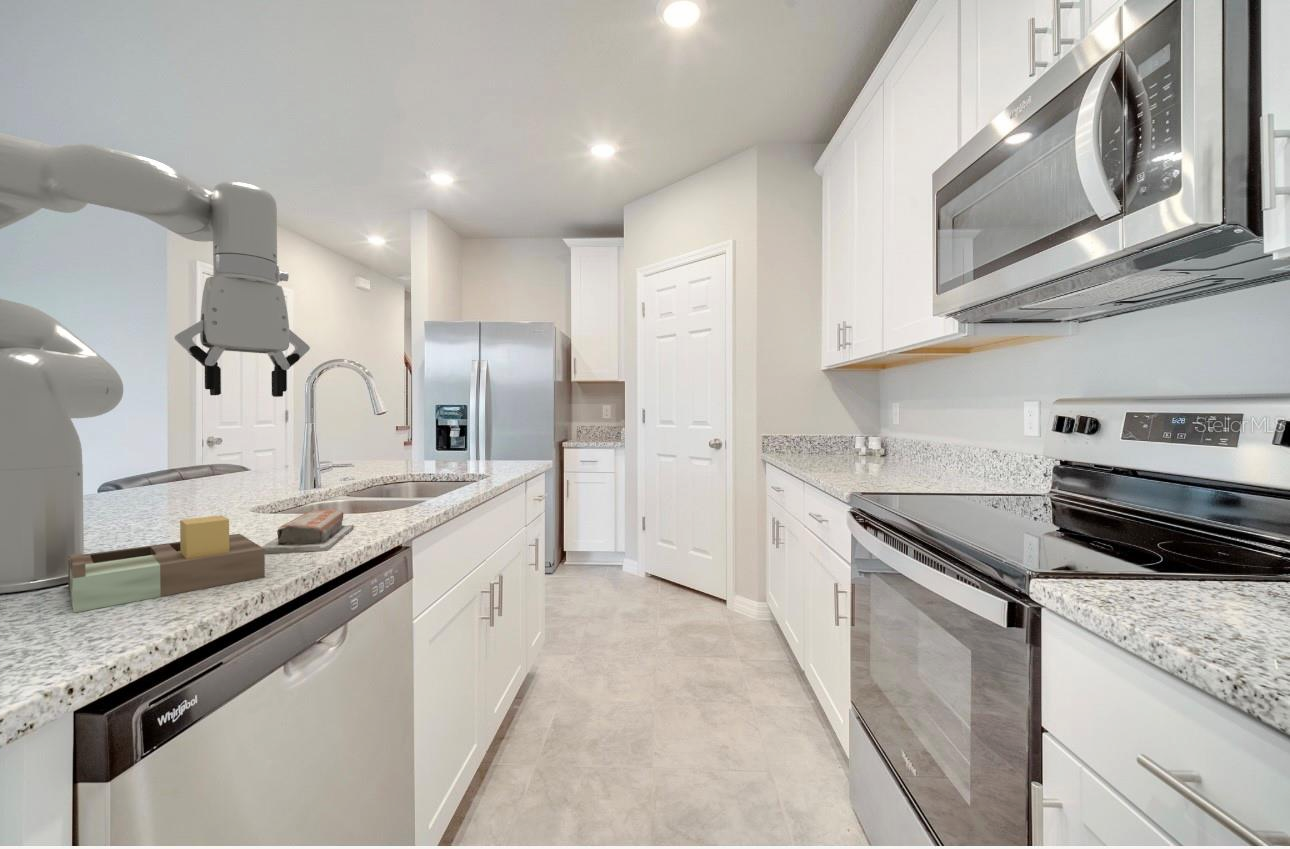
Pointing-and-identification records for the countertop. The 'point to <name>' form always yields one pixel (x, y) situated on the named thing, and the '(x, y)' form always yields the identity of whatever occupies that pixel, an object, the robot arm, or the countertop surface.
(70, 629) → the countertop surface
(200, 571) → the box
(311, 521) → the packaged product
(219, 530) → the ochre block
